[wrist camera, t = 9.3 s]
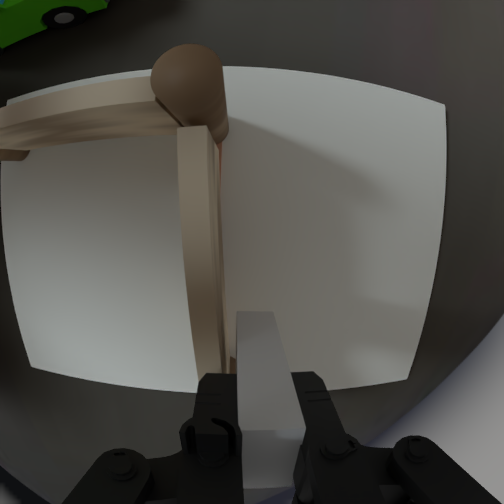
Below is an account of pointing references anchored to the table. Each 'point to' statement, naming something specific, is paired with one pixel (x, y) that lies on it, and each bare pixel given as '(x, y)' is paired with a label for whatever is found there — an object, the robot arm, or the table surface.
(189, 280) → the fence gate
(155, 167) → the card
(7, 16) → the toy car
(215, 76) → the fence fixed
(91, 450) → the table surface
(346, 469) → the robot arm
